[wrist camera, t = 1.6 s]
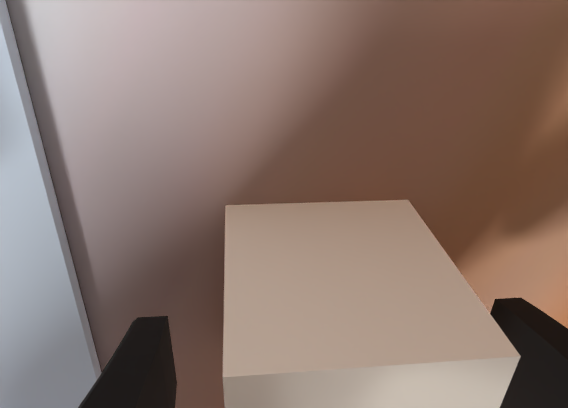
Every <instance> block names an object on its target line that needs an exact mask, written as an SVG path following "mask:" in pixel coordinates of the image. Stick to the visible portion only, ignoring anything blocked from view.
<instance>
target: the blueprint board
mask: <svg viewBox="0 0 568 408" xmlns="http://www.w3.org/2000/svg"><path fill="white" fill-rule="evenodd" d="M100 375H101V369H100V365H99V361H98V357H97V353H96V350H95V346H94V342H93V338H92V334H91V330H90V326H89V323H88V319H87V315H86V311H85V307H84V303H83V299H82V295H81V292H80V288H79V284H78V280H77V276H76V272H75V268H74V264H73V261H72V257H71V253H70V249H69V245H68V241H67V237H66V233H65V230H64V226H63V222H62V218H61V214H60V210H59V206H58V202H57V199H56V195H55V191H54V187H53V183H52V179H51V175H50V171H49V168H48V164H47V160H46V156H45V152H44V148H43V144H42V140H41V137H40V133H39V129H38V125H37V121H36V117H35V113H34V109H33V106H32V102H31V98H30V94H29V90H28V86H27V82H26V78H25V75H24V71H23V67H22V63H21V59H20V55H19V51H18V47H17V44H16V40H15V36H14V32H13V28H12V24H11V20H10V17H9V13H8V9H7V5H6V1H5V0H0V408H78V407H79V405H80V404H81V402H82V401H83V400H84V398H85V397H86V395H87V394H88V392H89V391H90V389H91V388H92V386H93V385H94V384H95V382H96V381H97V379H98V378H99V376H100Z"/></svg>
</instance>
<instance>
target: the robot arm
mask: <svg viewBox="0 0 568 408" xmlns="http://www.w3.org/2000/svg"><path fill="white" fill-rule="evenodd" d="M490 314H491V316H492V317H493V318H494V320H495V321H496V323H497V324H498V325H499V327H500V328H501V330H502V331H503V332H504V334H505V335H506V337H507V338H508V339H509V341H510V342H511V344H512V345H513V346H514V348H515V349H516V350H517V352H518V353H519V355H520V356H521V357H520V359H519V362H518V364H517V367H516V369H515V372H514V374H513V376H512V379H511V381H510V384H509V386H508V389H507V391H506V394H505V396H504V398H503V401H502V403H501V406H500V408H568V329H567V328H566V327H564V326H563V325H561V324H560V323H559V322H557V321H556V320H554V319H553V318H551V317H550V316H548V315H547V314H545V313H544V312H542V311H541V310H539V309H538V308H536V307H535V306H533V305H532V304H530V303H529V302H527V301H525V300H524V299H522V298H506V299H495V301H494V304H493V307H492V310H491V313H490ZM176 386H177V380H176V373H175V366H174V359H173V352H172V345H171V337H170V330H169V323H168V316H159V317H140V318H137V319H136V320H134V321H133V322H132V324H131V326H130V328H129V329H128V331H127V333H126V335H125V336H124V338H123V340H122V341H121V343H120V345H119V346H118V348H117V350H116V351H115V353H114V354H113V356H112V358H111V359H110V361H109V362H108V364H107V365H106V367H105V369H104V370H103V372H102V373H101V375H100V376H99V378H98V379H97V381H96V382H95V384H94V385H93V386H92V388H91V389H90V391H89V392H88V394H87V395H86V397H85V398H84V400H83V401H82V402H81V404H80V405H79V407H78V408H175V399H176Z"/></svg>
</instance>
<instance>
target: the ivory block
mask: <svg viewBox="0 0 568 408" xmlns="http://www.w3.org/2000/svg"><path fill="white" fill-rule="evenodd" d="M520 357H521V356H520V355H519V353H518V352H517V350H516V349H515V348H514V346H513V345H512V344H511V342H510V341H509V339H508V338H507V337H506V335H505V334H504V332H503V331H502V330H501V328H500V327H499V325H498V324H497V323H496V321H495V320H494V318H493V317H492V316H491V314H490V313H489V312H488V310H487V309H486V307H485V306H484V305H483V303H482V302H481V300H480V299H479V298H478V296H477V295H476V293H475V292H474V291H473V289H472V288H471V286H470V285H469V284H468V282H467V281H466V280H465V278H464V277H463V275H462V274H461V273H460V271H459V270H458V268H457V267H456V266H455V264H454V263H453V261H452V260H451V259H450V257H449V256H448V254H447V253H446V252H445V250H444V249H443V248H442V246H441V245H440V243H439V242H438V241H437V239H436V238H435V236H434V235H433V234H432V232H431V231H430V229H429V228H428V227H427V225H426V224H425V222H424V221H423V220H422V218H421V217H420V216H419V214H418V213H417V211H416V210H415V209H414V207H413V206H412V204H411V203H410V202H409V200H381V201H348V202H314V203H281V204H248V205H225V264H224V326H223V391H224V406H225V408H500V406H501V403H502V401H503V398H504V396H505V394H506V391H507V389H508V386H509V384H510V381H511V379H512V376H513V374H514V372H515V369H516V367H517V364H518V362H519V359H520Z"/></svg>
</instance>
